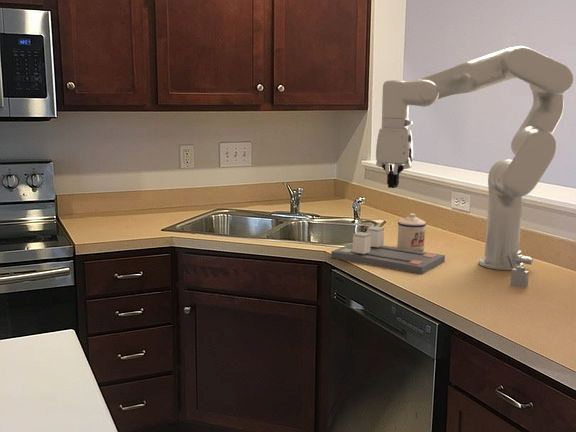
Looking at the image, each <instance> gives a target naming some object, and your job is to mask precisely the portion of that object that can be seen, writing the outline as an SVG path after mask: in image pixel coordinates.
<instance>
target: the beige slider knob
mask: <svg viewBox="0 0 576 432" xmlns="http://www.w3.org/2000/svg"><path fill="white" fill-rule="evenodd" d="M352 243H353V251H352V252H355V253H361V254H365V253H368V252H370V247H371V234H370V233H367V232H363V231H362V232H361V231H359V232H355V233H352Z"/></svg>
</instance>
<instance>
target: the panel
mask: <svg viewBox="0 0 576 432" xmlns="http://www.w3.org/2000/svg"><path fill="white" fill-rule="evenodd" d="M352 251H353V242H352V243H350V244H348V245H345V246H343V247H340V248H337V249H334V250H331V252H330V253H331V254H330V255H331V256H330V257H331V258H332V259H337V260H340V261H341V260H343V261H348V262H353V263H359V264H365V265H371V266H376V267H381V268H387V269H393V270H397V269H398V271H402V270H404V272H408V271H409V273H413V272H414V273H415V274H419V275H423V274H425V273H427V272H428V271H431V270H432V269H434V268H436V267H438V266H440V265H441V264H443V263H445V261H446V255H445V254H440V253H439V254H438V253H434V252H433V253H431V252H426V251H415V250H408V249H402V248H398V247H397V246H396V247H394V246H389V245H384V244H383V246H380V247H370V252H368V253H365V254H361V253H355V252H352Z"/></svg>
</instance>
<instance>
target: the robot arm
mask: <svg viewBox="0 0 576 432" xmlns="http://www.w3.org/2000/svg"><path fill="white" fill-rule="evenodd" d="M511 79H519V80H521V81H523V82H525V83H527V84H528V85H529V88H530V90H531V93H532V97H533V101H532V106H531V108H530V110H529V112H528V114H527V116H526V118H525V119H524V120H523V122H522V124H521V125H520V127H519V128H518V130H517V131H516V133H515V134H514V136H513V137H512V141H511V143H510V148H511V152H512V153H513V154H514V157H513V159H507V158H505V159H501V160H498V161H497V162H495V163H494V164H493V165H491V168H490V169H489V171H488V174H487V175H488V177H487V186H488V189H487V190H488V203H487V205H488V206H487V221H486V234H485V246H484V256H483V257H480V258H479V259H478V264H479V265H480V266H481V267H485V268H488V269H492V270H498V271H499V270H500V271H507V269H506V267H505V264H504V261H503V259H502V256H504V255H507V254H509V256H510V259H511V261H512V264H513V267H514V269H516V267H517V266H520V267H524V264H526V265H531V266H532V265H533V262H534V258H531V257H532V256H525V255H523V254H522V250H520V238H521V225H522V215H523V197H525V196H527V195H529V194H530V193H531V192H532V191H533V190H534V189H535V188H536V186H537V185H538V183H540V182H539V181H541V180H540V179H542V177H543V175H544V174H545V172H546V171H547V170H548V167H549V166H550V165H551V163H552V162H553V160H554V158H555V156H556V153H557V147H558V143H557V139H556V137H555V136H554V134H553V133H554V131H555V130H556V127H557V126H558V124H559V122H560V121H561V118H562V116H563V113H564V107H565V102H564V101H565V99H564V94H566V93H567V92H568V91H569V90H570V89H571V87H572V86H573V83H574V74H573V72H572V70H571V68H570V67H568V66H567V64H564V63H562V62H561V61H558V60H556V59H554V58H551V57H550V56H547V55H545V54H542V53H541V52H538V51H537V50H535V49H532V48H530V47H527V46H524V45H519V46H513V47H512V46H511V47H508V48H505V49H501V50H499V51H495V52H492V53H489V54H487V55H484V56H480V57H477V58H474V59H472V60H468V61H465V62H463V63H461V64H458V65H455V66H453V67H450V68H448V69H445V70H441V71H439V72H436V73H433V74H430V75H427V76H424V77H421V78H418V79H415V80H411V81H410V80H409V81H407V80H400V79H399V80H397V79H395V80H387V81H385V82H383V84H382V100H381V101H382V102H381V103H382V104H381V128H379V130H378V134H377V139H376V147H375V160H376V163H375V165H376V166H377V167H379V168H383V170H384V171H385V174H386V176H387V177H386V184H387V188H389V189H391V188H392V189H395V188H398V186H399V183H400V174H401V173H402V172H403V171H404V170H407V169H410V168H412V163H413V160H414V145H413V133H412V130H411V129H409V126H413V124H414V122H413V120H410V118H409V112H410V111H409V110H410V108H409V107H410V106H416V107H421V108H422V107H423V108H424V107H429V106H431V105H433V104H434V103H436V101H437V100H441V99H443V98H448V97H450V96H454V95H459V94H460V95H461V94H468V93H472V92H473V93H474V92H476V91H479V90H482V89H485V88H488V87H491V86H493V85H497V84H500V83H503V82H506V81H509V80H511Z"/></svg>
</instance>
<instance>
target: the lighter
mask: <svg viewBox="0 0 576 432" xmlns="http://www.w3.org/2000/svg"><path fill="white" fill-rule="evenodd" d="M502 259H503V261H504V264H505V267H506V269H507V270H506V271H507V272H508V271H510V272H511V275H510V284H509V285H510V286H513V287H518V288H521V289H522V288H523V289H527V288H528V284H529V275H530V273H529V272H530V271H528V270H526V268H525V266H523V267H520V266H517V267H516V269H514V267H513V264H512V261H511V259H510V256H509V254H507V255H504V256H502Z"/></svg>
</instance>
